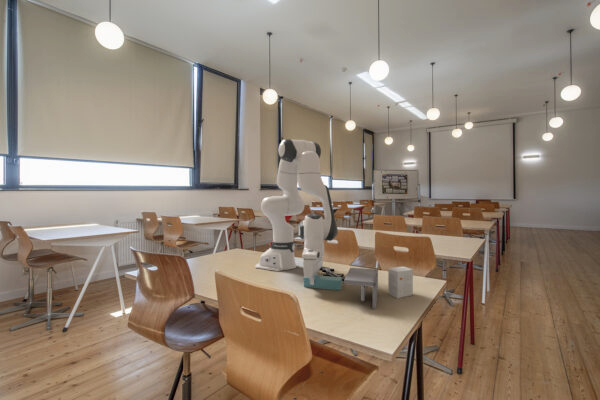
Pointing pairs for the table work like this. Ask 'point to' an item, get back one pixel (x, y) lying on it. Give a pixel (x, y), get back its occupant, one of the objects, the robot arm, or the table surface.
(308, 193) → the robot arm
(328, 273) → the black toy gun
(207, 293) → the table surface
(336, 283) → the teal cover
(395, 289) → the small box
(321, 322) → the table surface
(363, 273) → the overhang shelf
